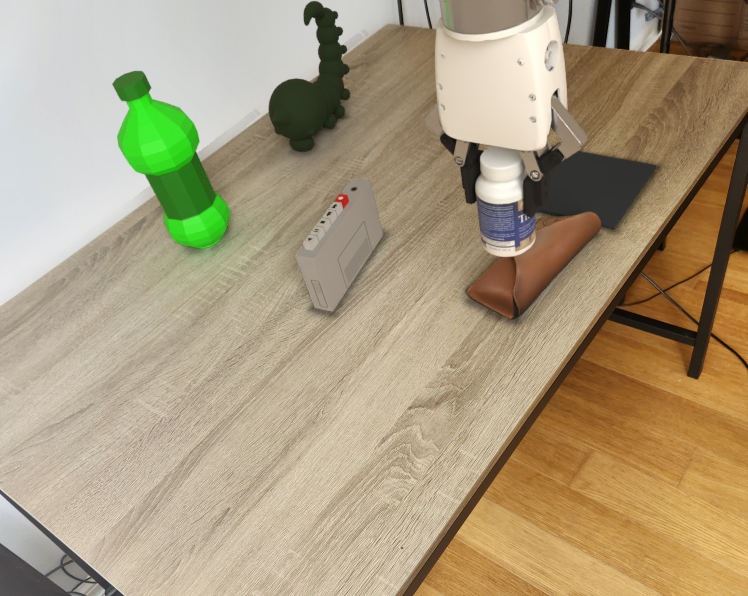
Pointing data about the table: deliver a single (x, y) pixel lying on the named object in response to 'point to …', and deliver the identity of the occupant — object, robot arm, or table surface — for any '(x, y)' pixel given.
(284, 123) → the toy figurine
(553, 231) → the sunglasses case
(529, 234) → the pill bottle
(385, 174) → the table surface
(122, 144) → the plastic bottle
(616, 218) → the pad
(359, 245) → the cassette player
